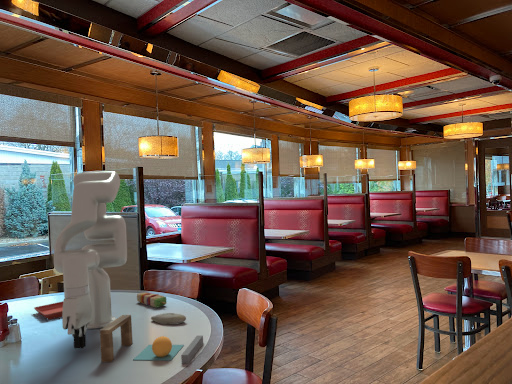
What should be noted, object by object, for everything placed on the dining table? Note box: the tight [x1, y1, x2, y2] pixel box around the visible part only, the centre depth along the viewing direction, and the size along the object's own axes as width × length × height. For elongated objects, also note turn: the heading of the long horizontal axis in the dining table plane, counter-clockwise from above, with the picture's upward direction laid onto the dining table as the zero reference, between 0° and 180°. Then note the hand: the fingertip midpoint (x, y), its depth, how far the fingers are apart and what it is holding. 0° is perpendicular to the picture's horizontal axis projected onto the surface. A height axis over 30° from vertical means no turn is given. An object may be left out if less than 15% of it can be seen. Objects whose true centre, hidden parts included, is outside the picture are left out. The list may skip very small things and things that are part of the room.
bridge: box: [99, 314, 133, 363], centre depth 133 cm, size 3×15×10 cm, turn 171°
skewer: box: [136, 291, 167, 309], centre depth 188 cm, size 21×6×5 cm, turn 45°
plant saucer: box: [33, 300, 64, 320], centre depth 184 cm, size 18×18×3 cm
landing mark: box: [133, 344, 185, 362], centre depth 131 cm, size 12×12×1 cm
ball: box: [151, 335, 173, 357], centre depth 128 cm, size 6×6×6 cm
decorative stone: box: [150, 312, 187, 325], centre depth 162 cm, size 6×16×3 cm, turn 72°
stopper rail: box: [180, 335, 204, 365], centre depth 130 cm, size 2×16×2 cm, turn 171°
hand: (80, 347), depth 135 cm, fingers closed
